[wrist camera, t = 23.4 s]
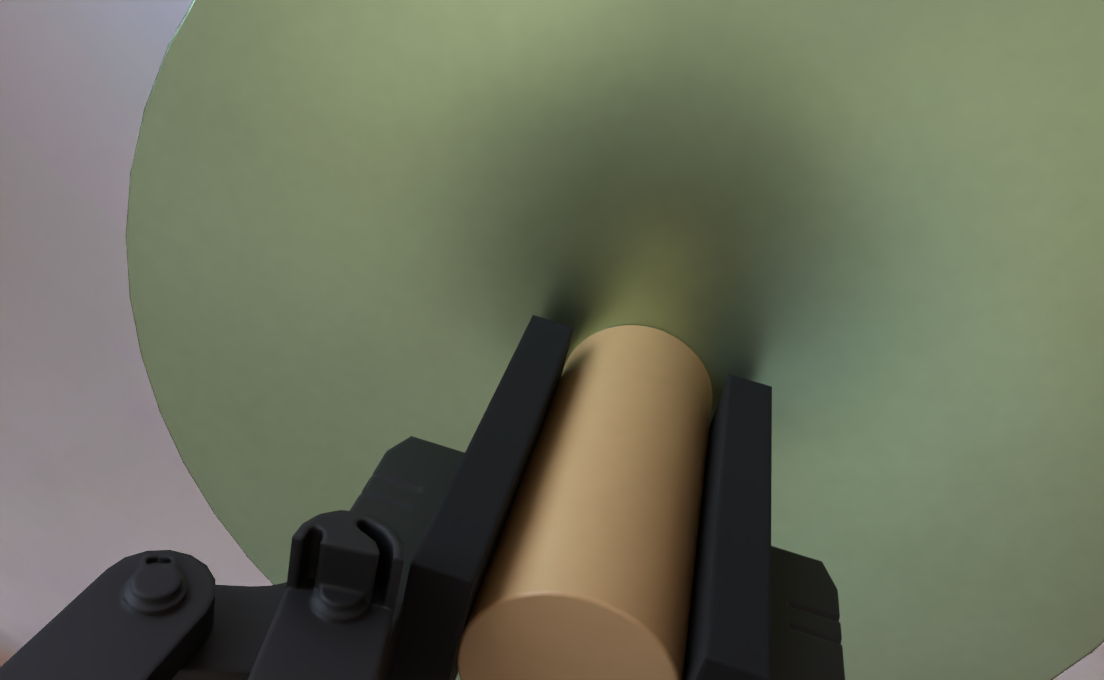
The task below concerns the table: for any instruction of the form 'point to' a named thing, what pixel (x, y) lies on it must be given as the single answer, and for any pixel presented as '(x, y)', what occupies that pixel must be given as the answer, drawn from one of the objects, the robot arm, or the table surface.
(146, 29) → the table surface
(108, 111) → the table surface
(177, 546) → the table surface
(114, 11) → the table surface
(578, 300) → the pot lid
